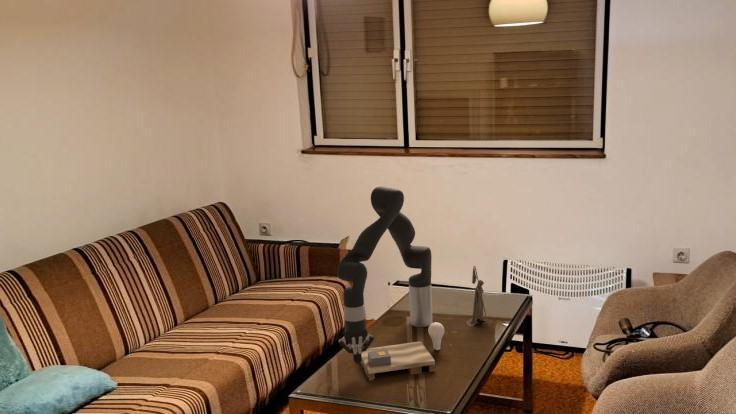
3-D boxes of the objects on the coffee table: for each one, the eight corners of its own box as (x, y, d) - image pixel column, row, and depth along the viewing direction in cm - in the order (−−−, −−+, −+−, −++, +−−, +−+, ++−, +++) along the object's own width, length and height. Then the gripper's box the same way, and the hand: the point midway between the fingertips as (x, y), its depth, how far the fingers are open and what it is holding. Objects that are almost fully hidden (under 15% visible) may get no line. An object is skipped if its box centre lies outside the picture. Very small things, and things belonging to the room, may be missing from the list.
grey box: (368, 359, 256) (367, 351, 256) (387, 357, 258) (386, 349, 257) (371, 366, 250) (371, 358, 250) (391, 364, 252) (390, 355, 251)
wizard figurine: (484, 328, 290) (484, 269, 284) (464, 326, 293) (463, 267, 287) (490, 319, 299) (489, 262, 294) (470, 317, 302) (469, 260, 297)
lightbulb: (446, 347, 273) (445, 320, 271) (443, 354, 267) (442, 326, 265) (431, 346, 275) (430, 319, 273) (427, 352, 269) (426, 325, 267)
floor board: (359, 359, 266) (358, 349, 266) (421, 351, 271) (420, 341, 270) (369, 380, 249) (368, 370, 248) (435, 371, 254) (434, 360, 253)
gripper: (371, 310, 254) (373, 356, 257) (334, 315, 251) (337, 361, 255) (375, 318, 246) (378, 364, 250) (337, 322, 244) (340, 369, 248)
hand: (357, 362), depth 252 cm, fingers closed
